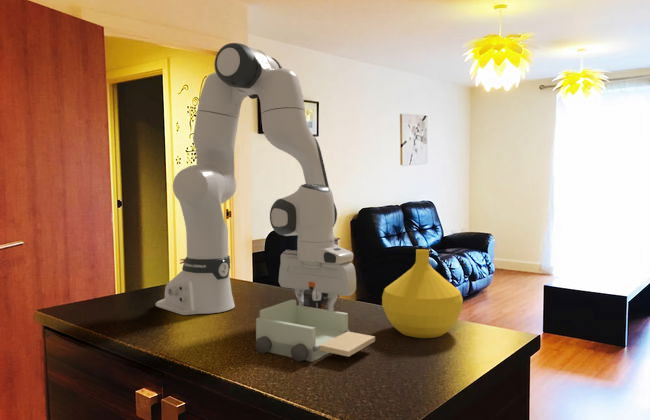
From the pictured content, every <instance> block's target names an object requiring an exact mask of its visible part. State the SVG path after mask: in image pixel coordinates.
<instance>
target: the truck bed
mask: <svg viewBox="0 0 650 420" xmlns="http://www.w3.org/2000/svg"><path fill="white" fill-rule="evenodd" d="M346 332H351V331H350V329H349V313H348V312H344V311H343V312H342V311H336V310H333V311H331V310H325V309H319V308H312V307H306V306H300V305H299V304H297V299H293V298H292V299H289V300H287V301H282V302H280V303H277V304H274V305H272V306H268V307H265V308H262V309H259V317H257V318H256V319H255V340H256V341H255V349H256V350H257V351H258V353H260V354H266V353H271V354H276V355H279V356H284V357H288V358H293V360H294V361H295V362H303V361H307V362H312V363H313V362H315V361H316V360H319V359H320V358H322V357H325V355H328V354H330V352H325V351H320V345H322V344H324V343H326V342H328V341H330V340H332V339H334V338H336V337H338V336H340V335H342V334H344V333H346Z"/></svg>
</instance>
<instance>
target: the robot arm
mask: <svg viewBox="0 0 650 420" xmlns="http://www.w3.org/2000/svg"><path fill="white" fill-rule="evenodd" d="M217 51H218V50H217ZM214 58H215V59H214V71H215V72H212V73H210V74H208V76H207V77H206V78H205V80H204V83H203V87H202V90H201V92H200V96H199V100H198V105H197V111H196V118H195V124H194V130H193V135H192V141H193V144H194V147H195V155H196V164H193V165H190V166H187V167H185V168H183V169H181V170H180V171H179V172H177V174H175V176H174V179H173V180H172V181H173V182H172V190H173V194H174V195H175V198H176V199H177V200H178V202H179V204H180V208H181V212H182V216H183V221H184V226H185V231H186V232H185V233H186V234H185V236H186V257H184V258H181V259H179V261H181V262H179V264H183V265H182V268H181V269H182V270H181V271H180V272H179V273H178V274H176V275H175V276H174V277H173V278H172V279H171V280H169V282H167V283H166V285H165V289H164V298H163V299H160V300H157V302H155V307H157V308H160V309H163V310H166V311H169V312H173V313H176V314H179V315H183V316H188V315H203V314H204V315H205V314H207V315H208V314H215V313H222V312H227V311H230V310H232V309H234V308H235V307H236V305H235V301H234V297H233V293H232V292H233V291H232V284H231V278H230V277H231V276H230V269H231V256H230V255H229V228H228V225H227V224H226V221H225V218H224V214H223V210H222V204H224V203H225V202H227V201H229V200H230V199H231V198H232V197H233V195H235V192H236V189H237V181H236V178H235V145H236V139H237V138H236V137H237V133H238V127H239V126H238V124H239V118H240V113H241V112H240V111H241V107H242V104H243V101H244V100H245V99H246V98H247V97H249V98H250V99H252V100H254V99H259V102H260V113H261V114H260V115H261V125H262V130H263V134H264V137H265V139H266V140H267V141H268V142H269V143H270V144H271V145H272V146H274V147H275V148H276V149H278V150H280V151H282V152H285V153H286V154H288V155H289V156H292V157H293V158H294V159H295V160H296V161H297V162H298V163H299V165H300V166H301V168H302V169H301V170H302V172H303V176H304V181H305V183H304V184H301V185H300V186H299V187H298V189H297V190H296V191H294V192H293V193H292V194H290V195H287V196H285V197H282V198H278V199H276V200H275V201H274V202H273V204H272V205H271V207H270V210H269V221H270V225H271V227H272V229H273V230H274V232H275V233H277V234H278V235H280V236H285V237H291V236H297V246H296V247H297V248H296V249H297V250H291V249H285V251H283V252H282V253H281V254H280V263H279V270H278V271H279V272H278V283H279V285H280V287H281V288H283V289H284V288H285V289H292V290H294V295H295V296H296V298H297V299H296V300H298V305H300V306H304V290H308V289H309V286H308V285H309V281H311V282H315V288H314V289H315V290H316V291H318V292H320V293H327V294H328V299H329V300H328V304H325V305H324V307H325V310H331V311H335V310H334V305H335V303H336V301H337V300H338V298H339V296H344V297H348V296H351V295H353V294H354V293H355V292H356V291H357V275H356V268H355V265H354V264H353V263H352V262H351V261H353V260H354V252H352V251H351V250H348V249H346V248H343V247H342V246H340V245H338V244H336V243H335V240H336V239H335V236H334V227H335V225H336V223H337V220H338V210H337V206H336V204H335V202H334V201H335V200H334V195H333V192H332V189H331V188H330V186H329V181H328V177H327V172H326V168H325V163H324V159H323V156H322V155H323V154H322V151H321V147H320V144H319V142H318V139H317V138H316V137H315V136H314V135H313V134H312V132H311V129H310V127H309V124H308V121H307V115H306V110H305V102H304V101H305V100H304V95H303V92H302V91H303V90H302V87H301V86H302V85H301V83H300V80H299V77H298V75H297V74H296V73H295V72H294V71H293V70H290V69H288V68H283V66H282V64H280V62H279V61H277V59H276V58H274V57H271V56H270V55H269V54H267V53H265V52H263V51H261V50H260V49H255V48H254V47H253V48H252V47H249V46H248V45H246V44H243V43H240V42H231V43H227V44H225V45H223V46H221V47H220V49H219V51H218V52H217V54H216V55H215V57H214Z"/></svg>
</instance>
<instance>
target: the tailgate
mask: <svg viewBox="0 0 650 420" xmlns="http://www.w3.org/2000/svg"><path fill="white" fill-rule="evenodd" d="M375 342H376V336H375V335H374V336H373V335H368V334H364V333H359V332H358V333H357V332H353V331H350V332H346V333H344V334H342V335H340V336H338V337H336V338H334V339H332V340H330V341H328V342H326V343H324V344H322V345H320V351H325V352H330V353H331V354H334V355H340V356H343V357H348V358H349V357H351V356H352V355H355V354H356V353H358V352H359V351H361V350H363V349H364V348H366V347H367V346H369V345H371V344H372V343H375ZM330 353H329V354H330Z"/></svg>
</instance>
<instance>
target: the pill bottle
mask: <svg viewBox="0 0 650 420" xmlns="http://www.w3.org/2000/svg"><path fill="white" fill-rule="evenodd" d="M308 286H309V289H308V290H304V292H303V295H304V306H306V307H312V308H319V309H325V307H324V305H325V304H328V303H329V298H328V294H327V293H320V292H318V291H316V290H315V289H314V288H315V282H311V281H309V285H308Z"/></svg>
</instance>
